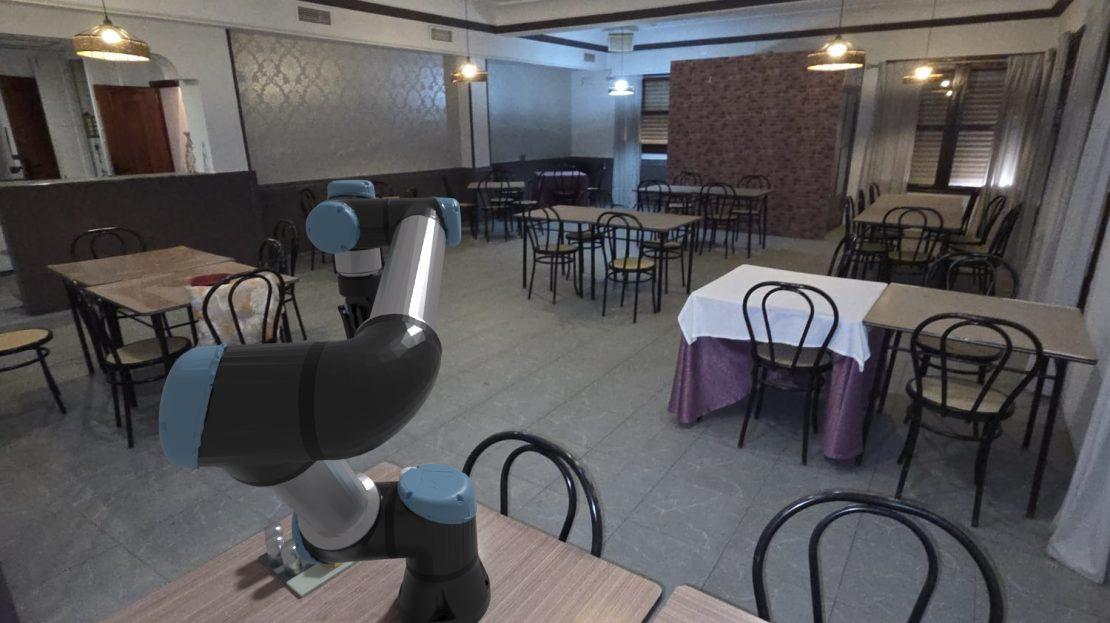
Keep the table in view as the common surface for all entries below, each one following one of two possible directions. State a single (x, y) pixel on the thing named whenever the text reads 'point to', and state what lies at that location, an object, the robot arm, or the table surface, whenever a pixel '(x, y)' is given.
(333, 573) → the mat
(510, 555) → the table surface
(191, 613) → the table surface
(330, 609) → the table surface
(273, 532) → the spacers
